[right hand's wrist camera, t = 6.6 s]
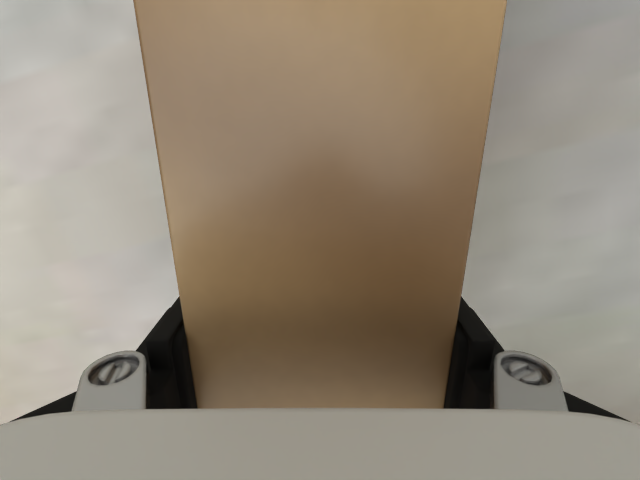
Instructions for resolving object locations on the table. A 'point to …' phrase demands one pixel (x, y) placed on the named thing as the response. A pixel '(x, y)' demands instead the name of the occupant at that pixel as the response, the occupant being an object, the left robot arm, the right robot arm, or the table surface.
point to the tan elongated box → (320, 190)
